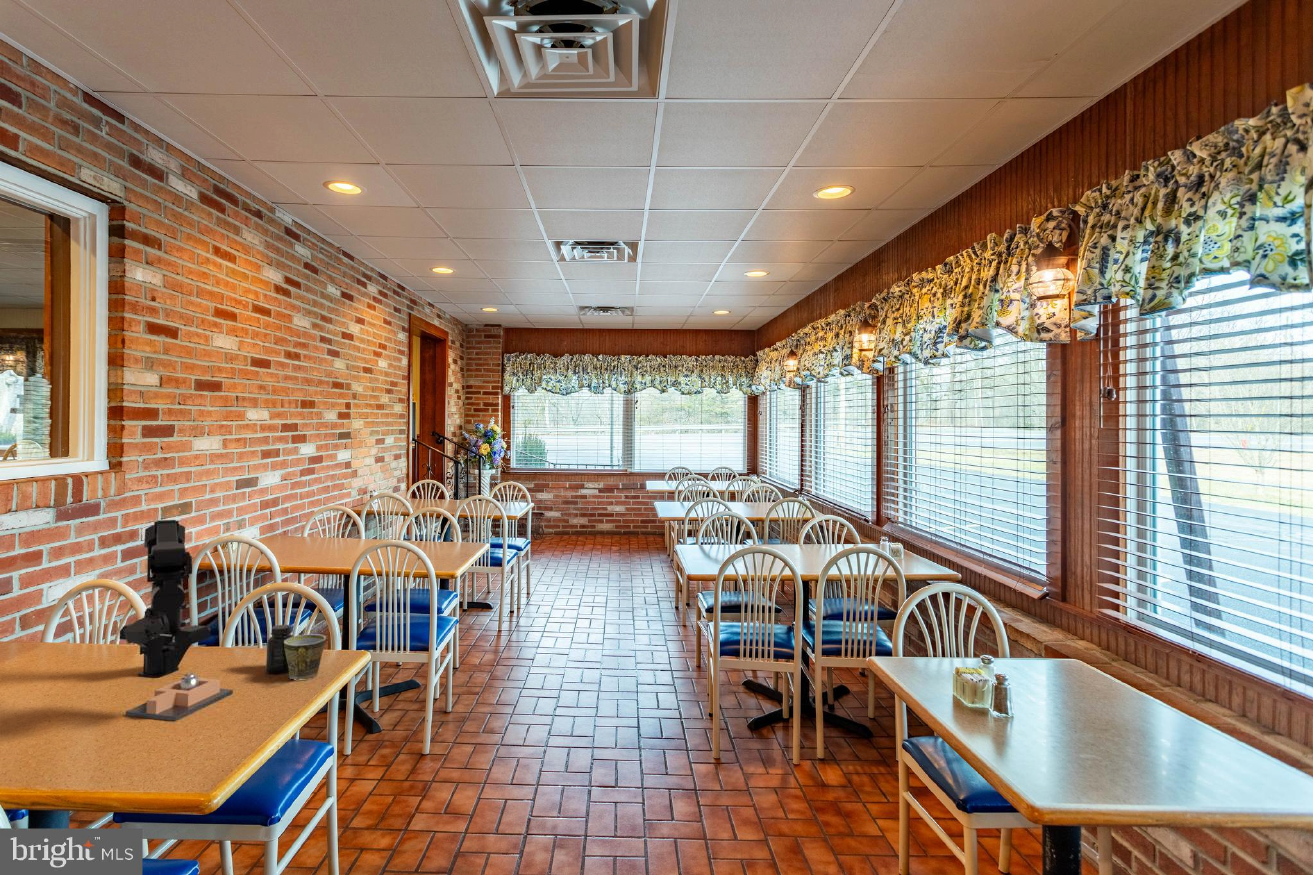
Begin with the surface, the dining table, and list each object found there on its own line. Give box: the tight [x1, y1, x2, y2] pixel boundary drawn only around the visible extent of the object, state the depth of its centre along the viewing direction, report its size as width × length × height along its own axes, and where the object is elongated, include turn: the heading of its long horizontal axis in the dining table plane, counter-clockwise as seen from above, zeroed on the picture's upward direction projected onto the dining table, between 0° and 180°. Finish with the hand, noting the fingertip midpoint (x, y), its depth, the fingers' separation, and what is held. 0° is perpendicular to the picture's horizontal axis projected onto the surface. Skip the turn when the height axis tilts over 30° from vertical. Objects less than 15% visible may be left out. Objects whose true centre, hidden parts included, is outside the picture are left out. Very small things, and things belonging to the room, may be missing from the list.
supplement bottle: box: [265, 624, 295, 675], centre depth 176 cm, size 7×7×12 cm
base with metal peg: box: [125, 672, 234, 722], centre depth 152 cm, size 13×16×6 cm
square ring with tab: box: [146, 677, 221, 714], centre depth 152 cm, size 9×14×3 cm, turn 172°
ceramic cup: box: [284, 633, 327, 680], centre depth 171 cm, size 13×10×10 cm
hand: (164, 669), depth 147 cm, fingers open, 5 cm apart
